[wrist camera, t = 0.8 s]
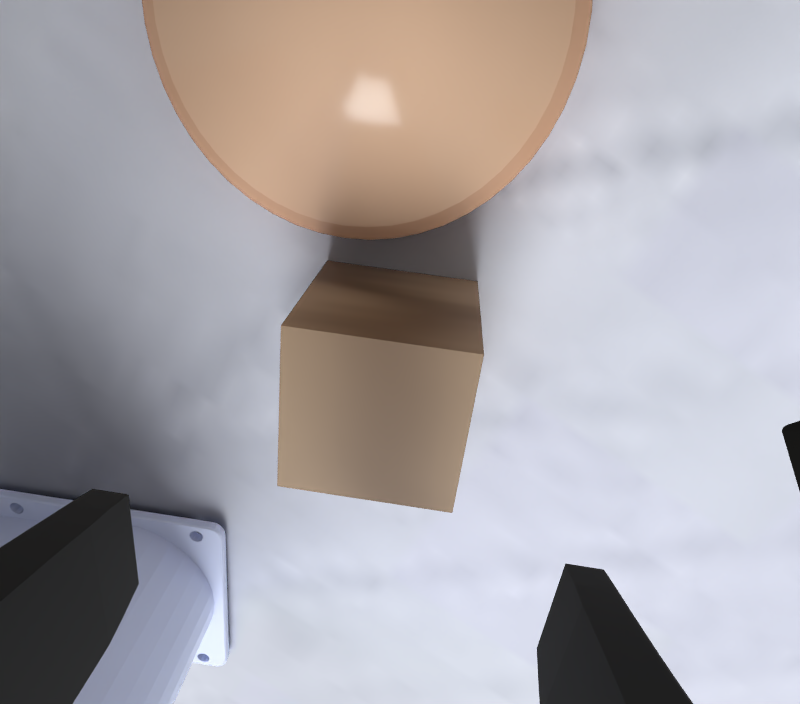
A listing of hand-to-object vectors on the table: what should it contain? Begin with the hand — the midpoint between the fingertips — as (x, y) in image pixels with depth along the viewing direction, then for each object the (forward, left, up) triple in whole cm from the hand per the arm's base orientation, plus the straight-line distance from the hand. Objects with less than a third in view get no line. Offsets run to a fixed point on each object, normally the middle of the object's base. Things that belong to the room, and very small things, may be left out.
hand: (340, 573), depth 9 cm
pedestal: (-2, +9, -9) cm, 13 cm away
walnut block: (0, 0, -10) cm, 10 cm away
